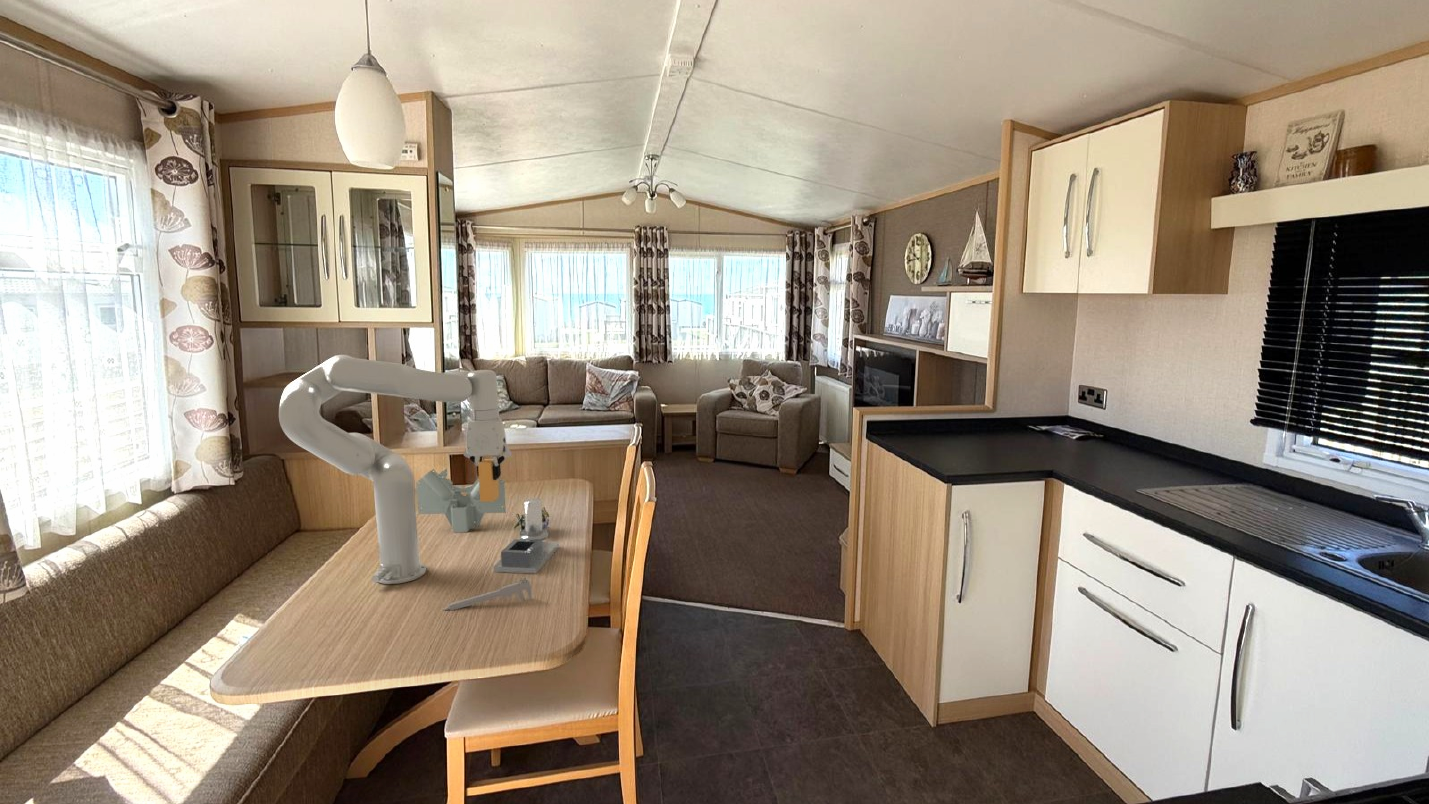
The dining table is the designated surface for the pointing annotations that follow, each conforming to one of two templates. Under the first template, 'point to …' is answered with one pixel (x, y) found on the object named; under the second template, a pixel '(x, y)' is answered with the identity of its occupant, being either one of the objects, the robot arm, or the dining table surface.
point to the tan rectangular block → (487, 481)
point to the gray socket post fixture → (528, 544)
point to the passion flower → (544, 520)
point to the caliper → (495, 594)
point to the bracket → (456, 501)
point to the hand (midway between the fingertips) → (489, 478)
